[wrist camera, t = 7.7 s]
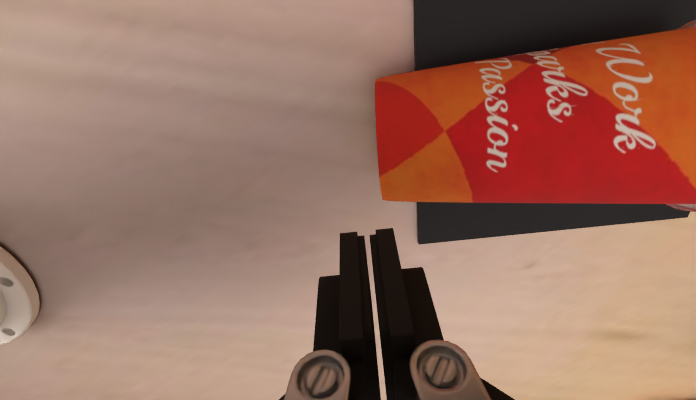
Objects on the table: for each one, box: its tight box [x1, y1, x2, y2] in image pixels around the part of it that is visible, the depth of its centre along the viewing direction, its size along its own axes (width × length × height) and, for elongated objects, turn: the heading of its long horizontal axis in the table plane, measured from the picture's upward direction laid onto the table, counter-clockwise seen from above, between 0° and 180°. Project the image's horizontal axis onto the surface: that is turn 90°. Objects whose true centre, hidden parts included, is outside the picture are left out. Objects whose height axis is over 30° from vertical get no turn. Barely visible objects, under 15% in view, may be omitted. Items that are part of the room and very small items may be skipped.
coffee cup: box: [375, 20, 696, 211], centre depth 17 cm, size 8×8×15 cm
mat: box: [414, 0, 696, 244], centre depth 21 cm, size 18×16×1 cm
